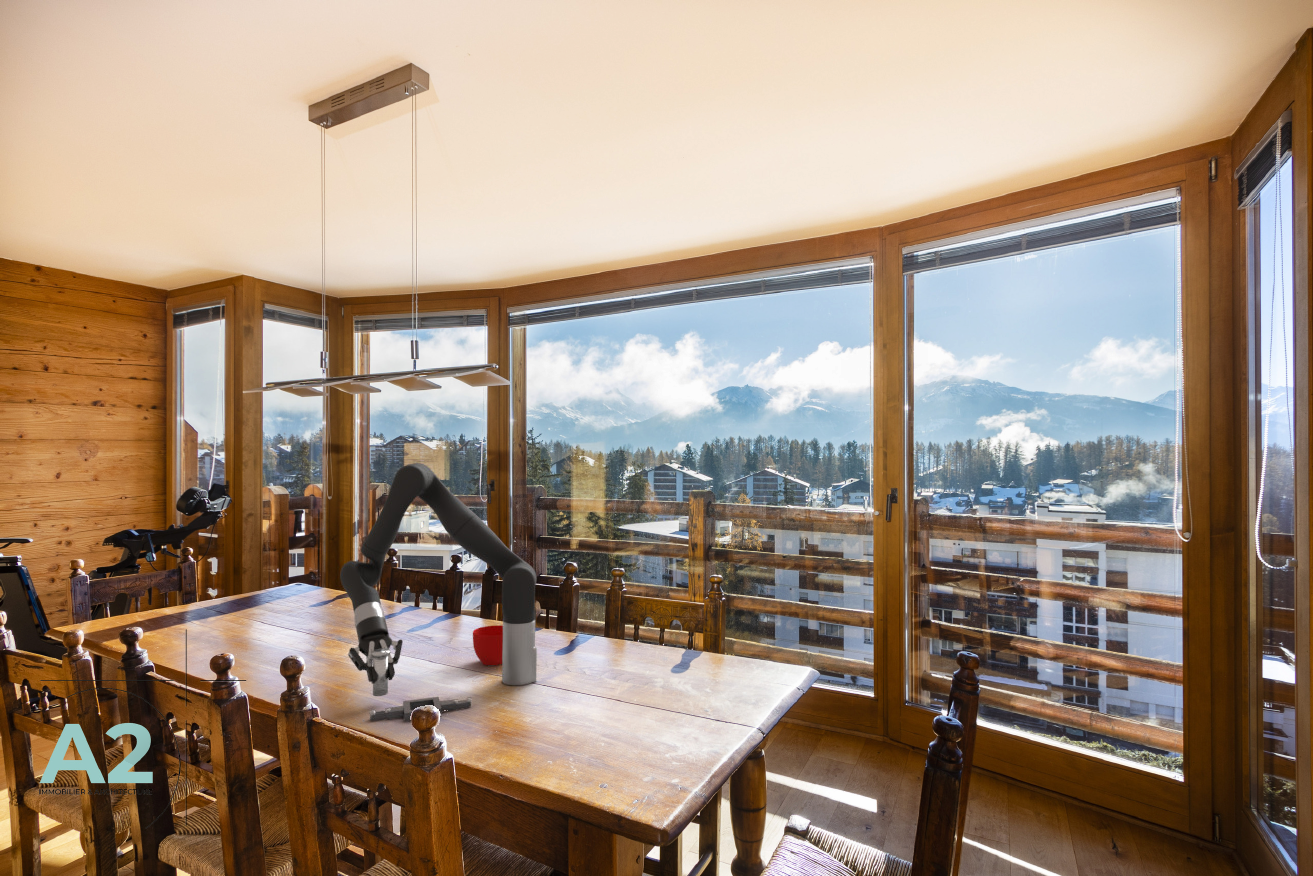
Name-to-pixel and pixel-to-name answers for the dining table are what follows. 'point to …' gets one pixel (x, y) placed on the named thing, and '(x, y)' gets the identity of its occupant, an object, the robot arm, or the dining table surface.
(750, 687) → the dining table surface
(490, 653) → the ceramic cup
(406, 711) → the tap wrench handle
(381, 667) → the pin
